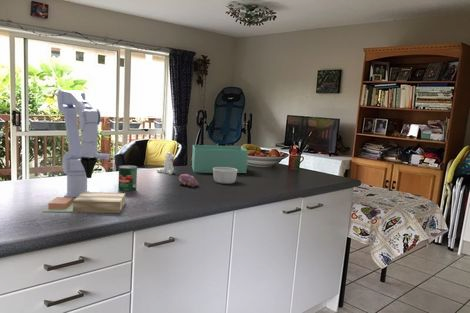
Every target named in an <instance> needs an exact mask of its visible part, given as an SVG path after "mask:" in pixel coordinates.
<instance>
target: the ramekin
mask: <svg viewBox="0 0 470 313" xmlns="http://www.w3.org/2000/svg"><path fill="white" fill-rule="evenodd" d="M237 172H238V170H237V169H235V168H229V167H215V168H213V173H212V174H213V180H214V183H219V184H234V183H235V182H236V180H237V175H238V174H237Z"/></svg>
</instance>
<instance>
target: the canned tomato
mask: <svg viewBox="0 0 470 313" xmlns="http://www.w3.org/2000/svg"><path fill="white" fill-rule="evenodd" d="M137 179H138V166H137V165H131V164H127V165H125V164H124V165H119V166H118V185H117V188H118V189H117V190H118V193H123V192H124V193H125V194H129V193H130V192H131V193H136V191H137Z"/></svg>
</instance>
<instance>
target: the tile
mask: <svg viewBox="0 0 470 313" xmlns="http://www.w3.org/2000/svg"><path fill="white" fill-rule="evenodd" d="M73 201H74V197H64V196H61V197H60V196H59V197H58V196H56V197H54V198H53V199H52V200H51V201H49V202H48V206H47V207H48V209H67V208H68V207H69V206H70V205H71V204H72V203H73Z"/></svg>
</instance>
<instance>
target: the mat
mask: <svg viewBox="0 0 470 313" xmlns="http://www.w3.org/2000/svg"><path fill="white" fill-rule="evenodd" d="M42 213H74V212H73V203H72V204H71V205H70V206H69V207H68V208H67V209H48V206H47V207H46V208H44V209H43V210H42Z"/></svg>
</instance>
